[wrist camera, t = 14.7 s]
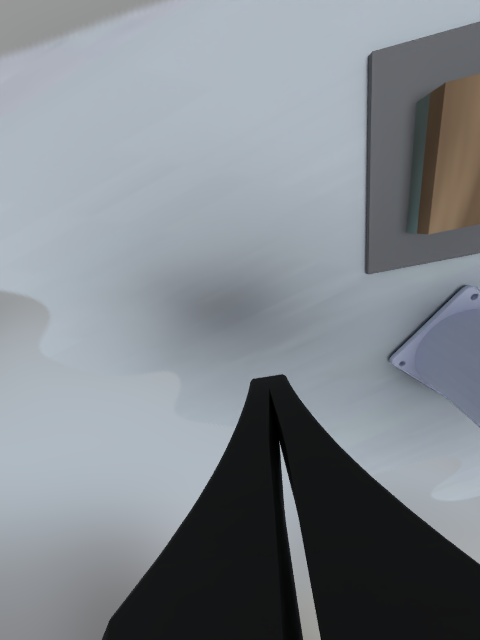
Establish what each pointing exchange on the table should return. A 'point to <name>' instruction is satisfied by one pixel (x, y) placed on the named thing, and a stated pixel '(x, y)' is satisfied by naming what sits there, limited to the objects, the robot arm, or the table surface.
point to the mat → (409, 145)
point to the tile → (446, 159)
